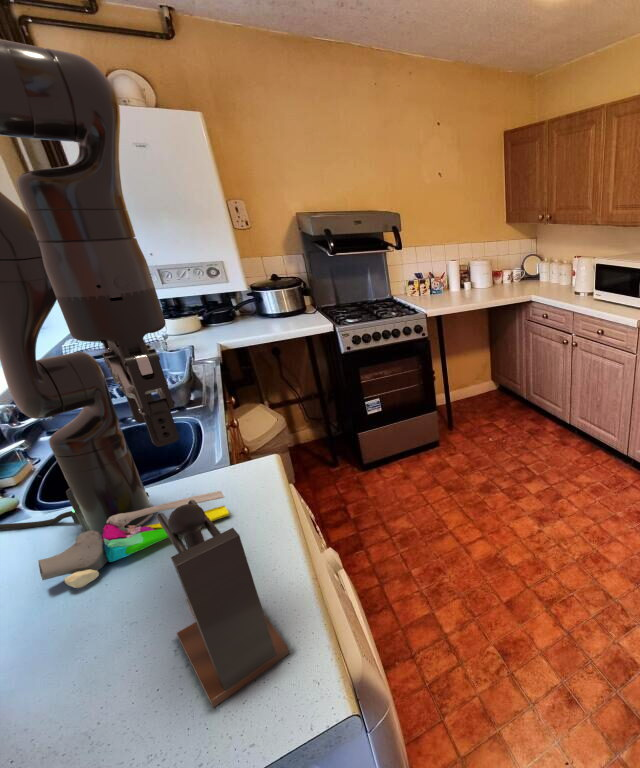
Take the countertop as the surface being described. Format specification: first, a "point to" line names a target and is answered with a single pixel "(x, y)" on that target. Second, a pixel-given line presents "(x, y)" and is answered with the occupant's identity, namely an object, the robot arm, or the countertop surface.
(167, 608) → the countertop surface
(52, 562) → the knee model
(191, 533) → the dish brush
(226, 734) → the countertop surface
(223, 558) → the upright panel stand
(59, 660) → the countertop surface
